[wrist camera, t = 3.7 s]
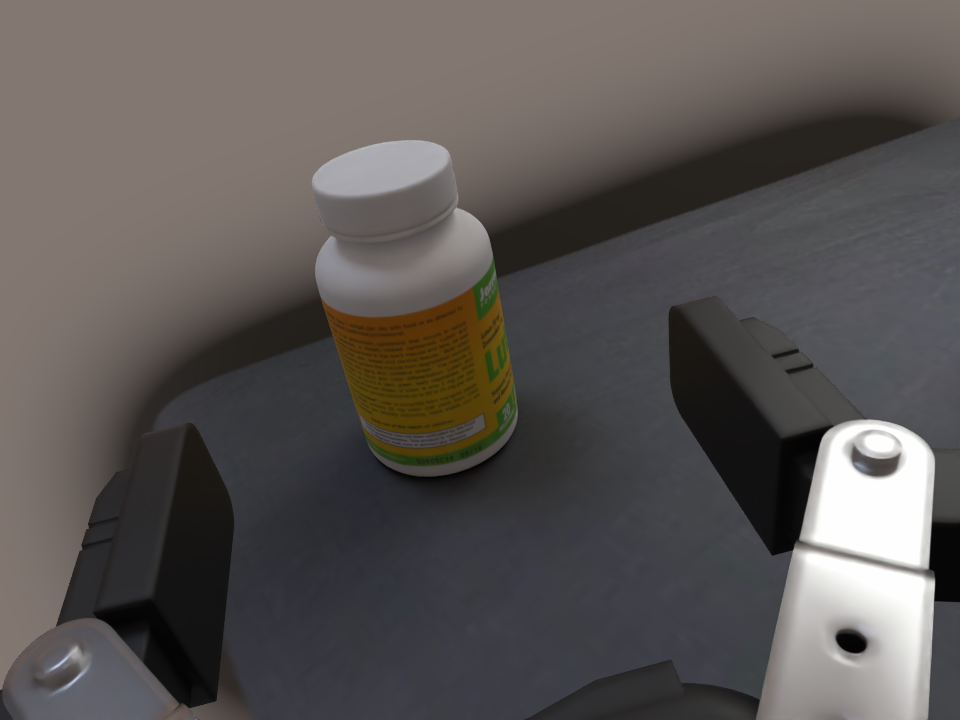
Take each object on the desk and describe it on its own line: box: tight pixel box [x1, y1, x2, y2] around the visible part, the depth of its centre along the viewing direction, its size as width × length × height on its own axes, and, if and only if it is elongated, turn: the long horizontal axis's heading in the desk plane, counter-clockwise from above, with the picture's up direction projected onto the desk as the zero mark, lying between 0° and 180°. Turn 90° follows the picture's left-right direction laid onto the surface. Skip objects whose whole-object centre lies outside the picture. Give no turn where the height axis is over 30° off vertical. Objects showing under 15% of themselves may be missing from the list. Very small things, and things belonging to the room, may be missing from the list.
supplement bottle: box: [312, 140, 518, 477], centre depth 25 cm, size 5×5×10 cm
